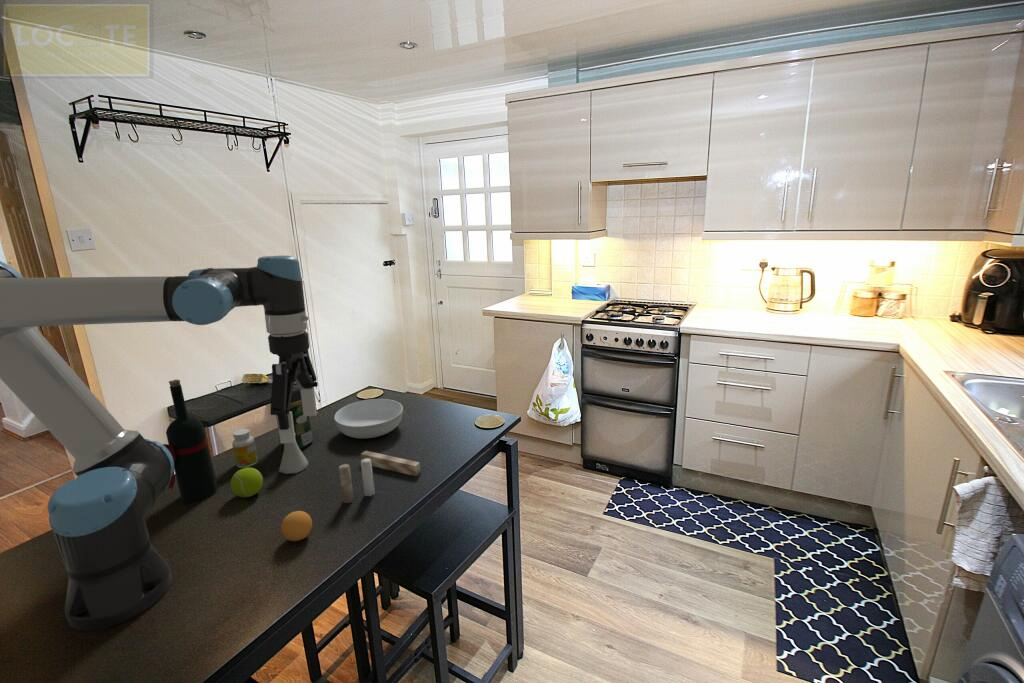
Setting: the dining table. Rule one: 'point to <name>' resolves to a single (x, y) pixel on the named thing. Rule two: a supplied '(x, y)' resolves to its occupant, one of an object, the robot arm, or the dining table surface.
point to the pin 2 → (367, 477)
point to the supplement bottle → (244, 448)
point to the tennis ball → (246, 482)
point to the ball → (296, 526)
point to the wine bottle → (189, 452)
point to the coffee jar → (299, 420)
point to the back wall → (392, 463)
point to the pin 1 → (346, 483)
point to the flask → (292, 459)
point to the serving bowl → (369, 418)
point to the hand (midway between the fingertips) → (299, 428)
